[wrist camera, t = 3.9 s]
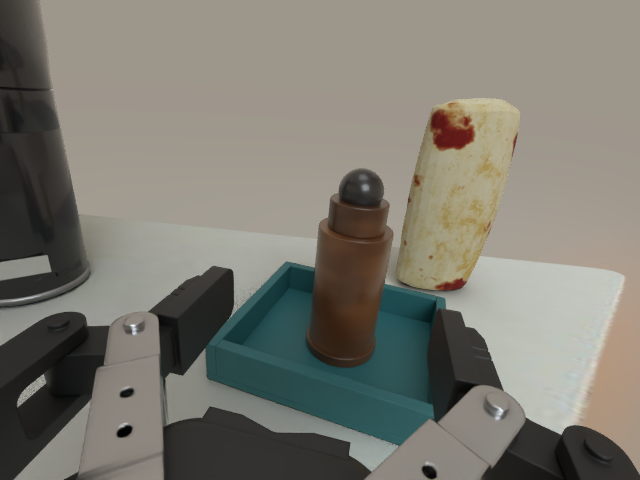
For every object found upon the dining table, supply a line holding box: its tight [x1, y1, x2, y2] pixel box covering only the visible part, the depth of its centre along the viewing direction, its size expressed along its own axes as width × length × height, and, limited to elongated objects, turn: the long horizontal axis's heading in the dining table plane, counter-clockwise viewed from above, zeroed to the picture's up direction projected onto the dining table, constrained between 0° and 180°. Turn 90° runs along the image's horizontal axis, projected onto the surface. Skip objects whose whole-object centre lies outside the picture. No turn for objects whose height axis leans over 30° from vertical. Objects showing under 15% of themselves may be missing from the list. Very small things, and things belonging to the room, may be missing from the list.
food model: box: [396, 98, 520, 291], centre depth 35 cm, size 10×7×20 cm
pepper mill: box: [306, 168, 393, 368], centre depth 25 cm, size 6×6×14 cm
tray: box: [206, 262, 446, 445], centre depth 27 cm, size 16×14×3 cm
